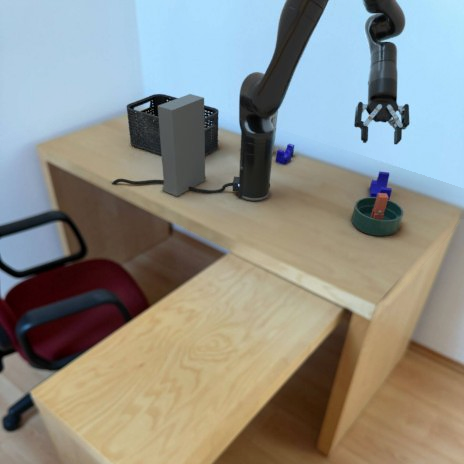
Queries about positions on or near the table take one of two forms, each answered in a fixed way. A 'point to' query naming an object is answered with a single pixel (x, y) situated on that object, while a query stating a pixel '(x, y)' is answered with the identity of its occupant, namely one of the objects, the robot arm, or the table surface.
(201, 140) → the tall grey upright pillar
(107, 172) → the table surface
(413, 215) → the table surface
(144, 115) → the storage bin
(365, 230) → the bowl
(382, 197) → the clothespin
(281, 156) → the cable holder
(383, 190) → the cable clip
